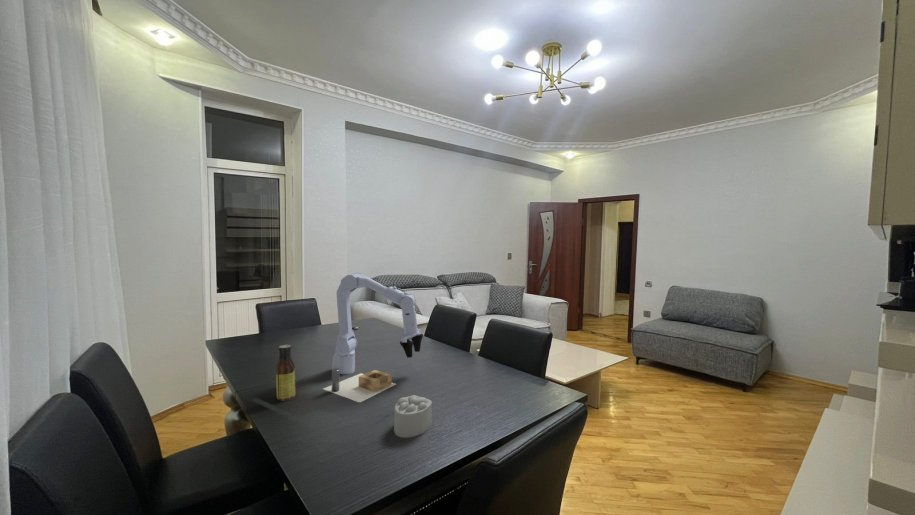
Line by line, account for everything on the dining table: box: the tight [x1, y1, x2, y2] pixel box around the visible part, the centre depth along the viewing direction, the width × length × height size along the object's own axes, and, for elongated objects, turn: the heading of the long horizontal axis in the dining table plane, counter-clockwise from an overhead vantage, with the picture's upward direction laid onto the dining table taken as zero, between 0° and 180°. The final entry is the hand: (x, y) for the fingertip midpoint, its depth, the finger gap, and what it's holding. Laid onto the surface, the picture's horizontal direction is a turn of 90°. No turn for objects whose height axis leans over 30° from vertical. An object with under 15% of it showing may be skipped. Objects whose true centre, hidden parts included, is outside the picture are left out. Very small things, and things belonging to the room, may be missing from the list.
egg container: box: [393, 394, 433, 438], centre depth 115 cm, size 10×13×9 cm
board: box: [322, 373, 397, 403], centre depth 142 cm, size 20×20×1 cm
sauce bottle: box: [275, 344, 296, 402], centre depth 131 cm, size 7×6×20 cm
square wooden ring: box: [359, 369, 392, 392], centre depth 144 cm, size 9×9×4 cm
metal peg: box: [331, 368, 341, 393], centre depth 138 cm, size 3×3×8 cm
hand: (413, 354), depth 155 cm, fingers open, 7 cm apart
